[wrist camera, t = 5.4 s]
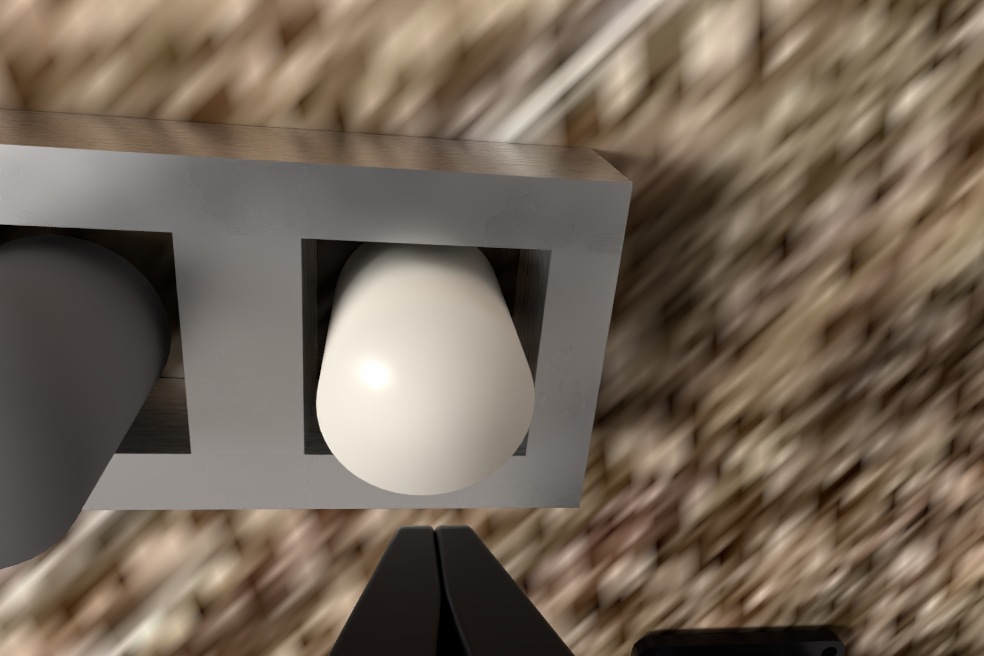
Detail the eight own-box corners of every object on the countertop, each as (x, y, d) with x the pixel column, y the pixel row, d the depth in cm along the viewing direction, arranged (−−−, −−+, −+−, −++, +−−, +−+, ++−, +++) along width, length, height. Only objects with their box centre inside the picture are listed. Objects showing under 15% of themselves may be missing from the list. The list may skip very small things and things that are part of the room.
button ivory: (507, 228, 16) (546, 309, 12) (492, 378, 17) (522, 495, 13) (334, 219, 15) (315, 301, 11) (333, 375, 17) (316, 495, 13)
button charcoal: (162, 239, 13) (66, 347, 9) (178, 414, 15) (101, 571, 11) (-60, 229, 13) (-259, 338, 9) (-21, 411, 14) (-178, 575, 10)
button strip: (592, 149, 16) (633, 182, 13) (551, 432, 19) (579, 507, 16) (-534, 73, 13) (-778, 96, 10) (-380, 422, 16) (-538, 513, 13)
